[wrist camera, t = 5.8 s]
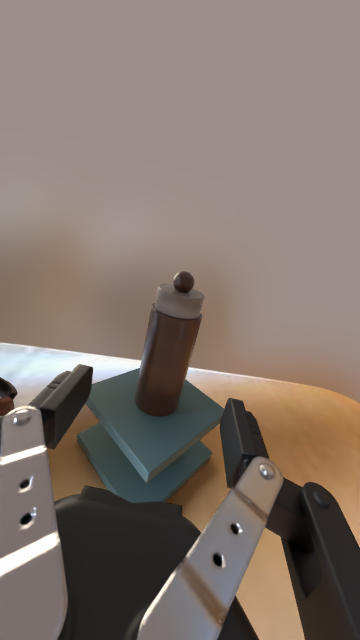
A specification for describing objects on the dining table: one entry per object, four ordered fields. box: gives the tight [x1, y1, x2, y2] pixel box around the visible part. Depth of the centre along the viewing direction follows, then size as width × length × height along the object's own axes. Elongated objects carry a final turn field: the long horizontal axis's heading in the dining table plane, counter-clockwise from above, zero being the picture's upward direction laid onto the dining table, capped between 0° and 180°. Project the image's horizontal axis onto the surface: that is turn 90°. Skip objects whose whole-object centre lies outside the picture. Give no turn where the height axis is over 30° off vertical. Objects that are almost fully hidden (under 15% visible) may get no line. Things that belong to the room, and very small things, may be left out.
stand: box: [77, 368, 224, 503], centre depth 27 cm, size 12×12×8 cm
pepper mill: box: [135, 271, 204, 417], centre depth 23 cm, size 5×5×15 cm
